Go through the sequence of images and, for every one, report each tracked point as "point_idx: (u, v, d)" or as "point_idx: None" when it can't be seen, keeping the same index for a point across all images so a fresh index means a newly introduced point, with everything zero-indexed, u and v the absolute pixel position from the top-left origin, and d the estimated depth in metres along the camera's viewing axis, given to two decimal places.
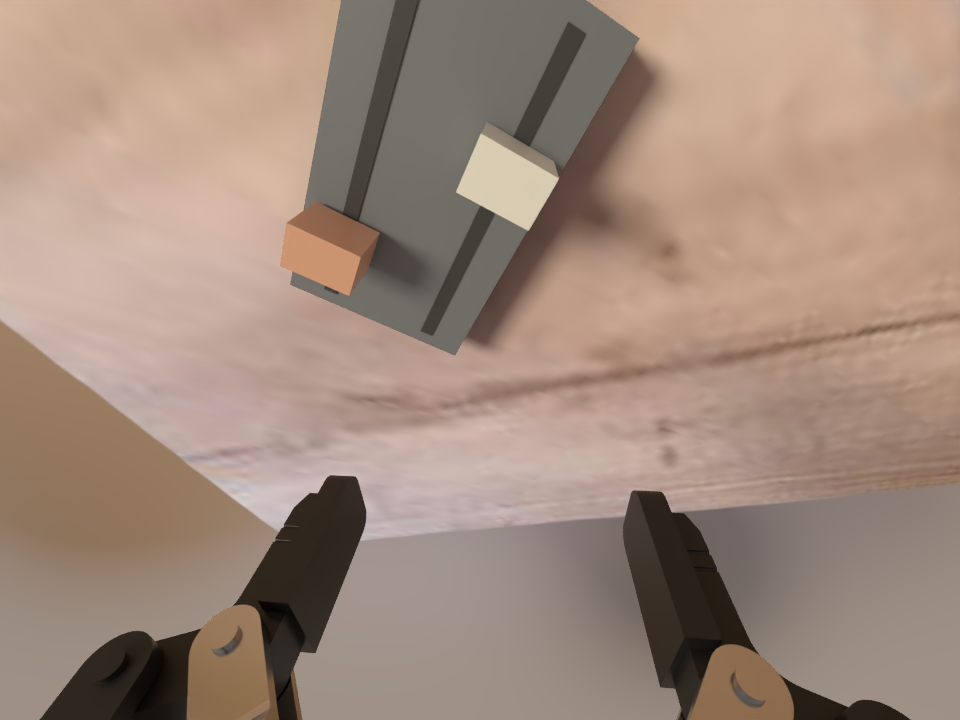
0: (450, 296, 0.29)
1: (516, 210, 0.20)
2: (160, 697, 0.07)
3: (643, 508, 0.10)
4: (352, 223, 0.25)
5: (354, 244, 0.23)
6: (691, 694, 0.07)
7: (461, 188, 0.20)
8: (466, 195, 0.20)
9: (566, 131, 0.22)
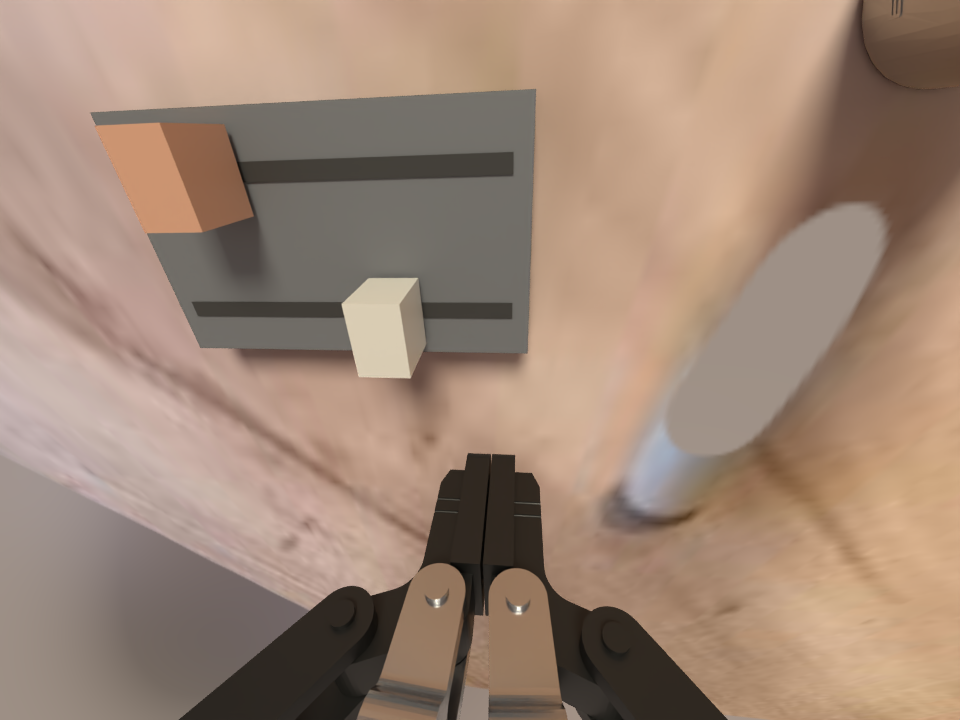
0: (255, 315, 0.25)
1: (366, 360, 0.21)
2: (387, 645, 0.07)
3: (492, 467, 0.11)
4: (236, 183, 0.20)
5: (211, 211, 0.18)
6: None
7: (348, 307, 0.19)
8: (345, 314, 0.19)
9: (450, 339, 0.25)
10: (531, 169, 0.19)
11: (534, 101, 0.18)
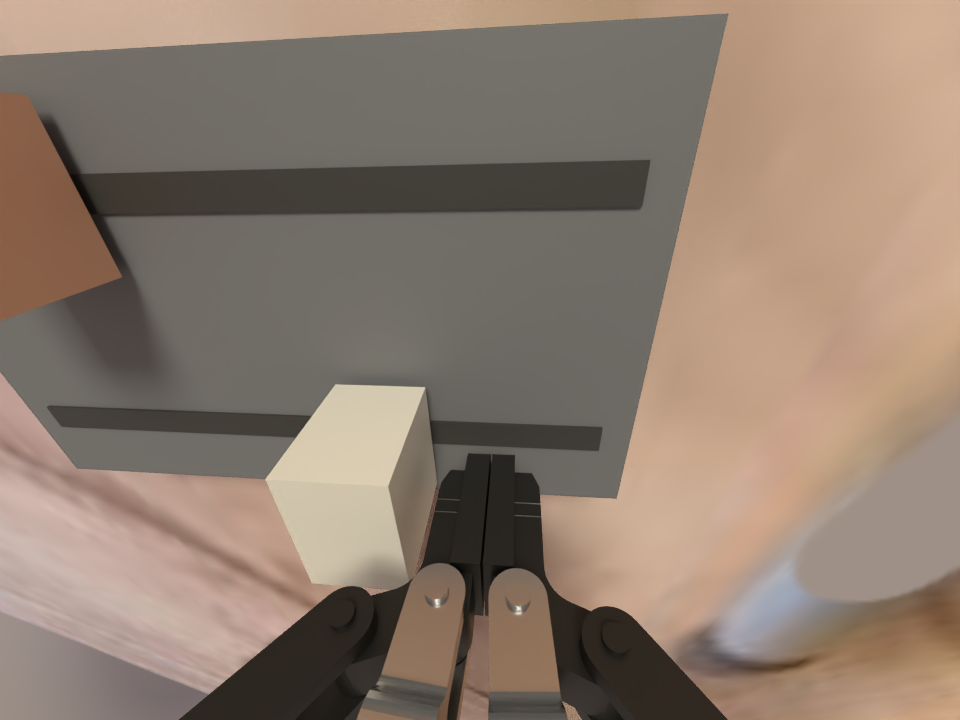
0: (155, 428, 0.15)
1: (324, 562, 0.11)
2: (387, 645, 0.07)
3: (492, 467, 0.11)
4: (69, 218, 0.10)
5: None
6: None
7: (279, 485, 0.09)
8: (276, 496, 0.09)
9: None
10: (681, 197, 0.09)
11: (718, 44, 0.08)
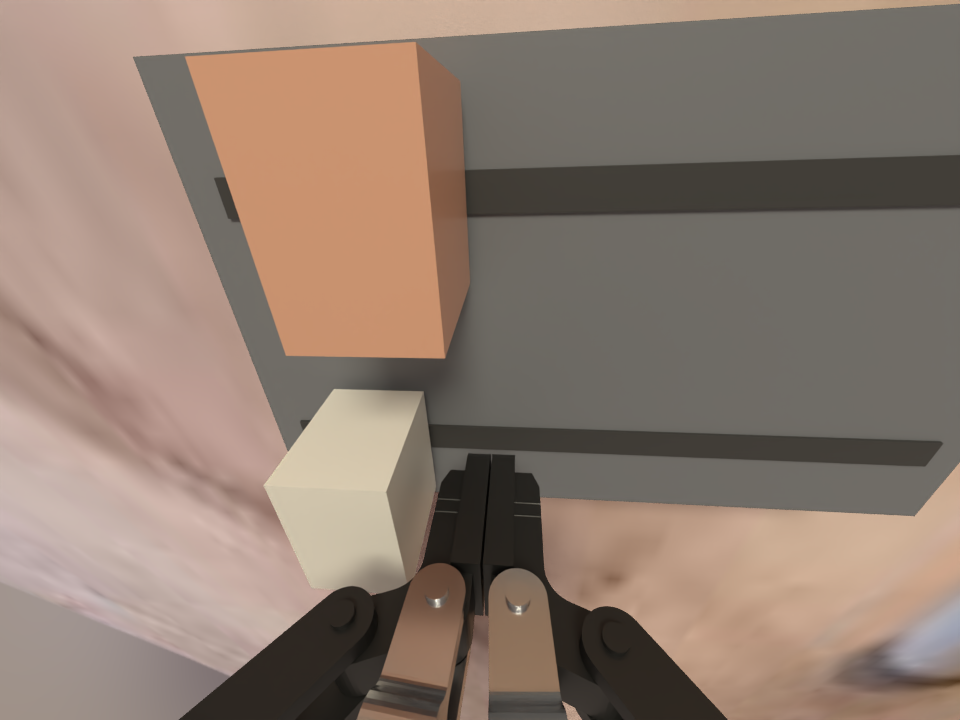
0: None
1: (323, 567, 0.11)
2: (387, 645, 0.07)
3: (492, 467, 0.11)
4: (463, 218, 0.09)
5: (451, 296, 0.07)
6: None
7: (278, 491, 0.09)
8: (275, 502, 0.09)
9: (775, 491, 0.14)
10: None
11: None
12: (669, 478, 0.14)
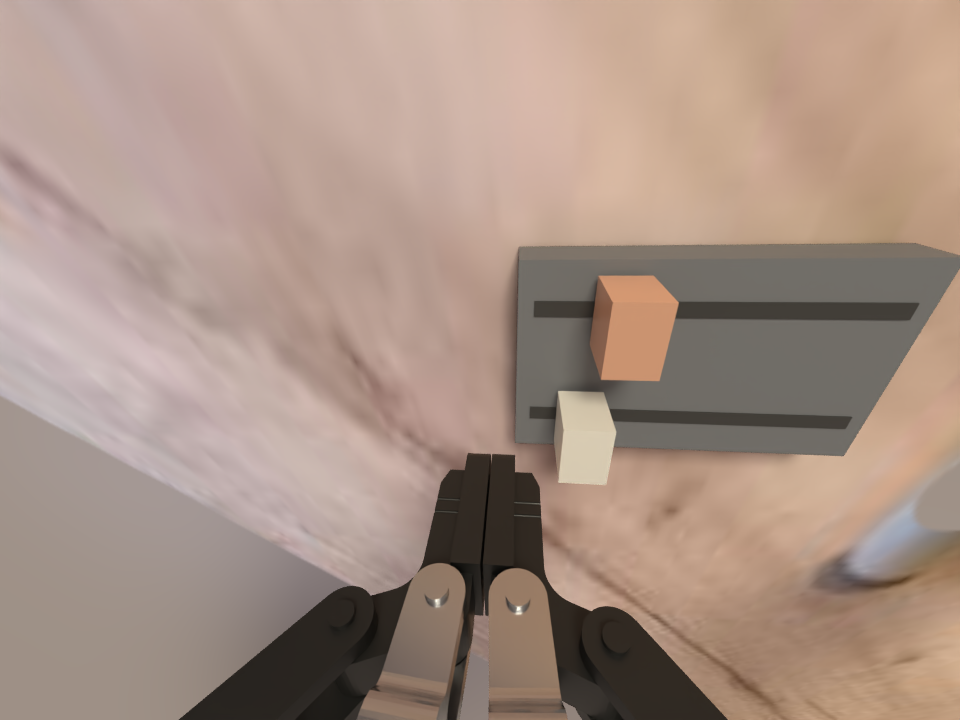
0: None
1: (570, 470, 0.24)
2: (387, 645, 0.07)
3: (492, 467, 0.11)
4: None
5: None
6: None
7: (568, 432, 0.22)
8: (564, 437, 0.23)
9: (772, 443, 0.27)
10: (928, 316, 0.21)
11: (959, 266, 0.20)
12: (718, 437, 0.27)
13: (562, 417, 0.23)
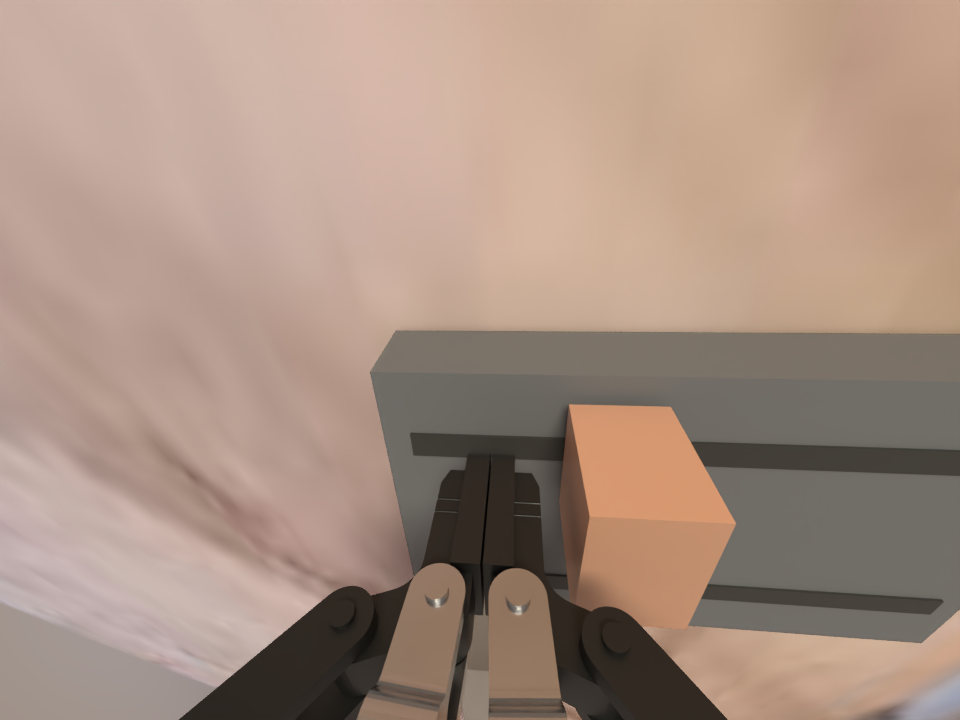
0: None
1: (479, 709, 0.14)
2: (387, 645, 0.07)
3: (492, 467, 0.11)
4: None
5: None
6: None
7: None
8: None
9: (811, 624, 0.17)
10: None
11: None
12: (726, 613, 0.17)
13: None
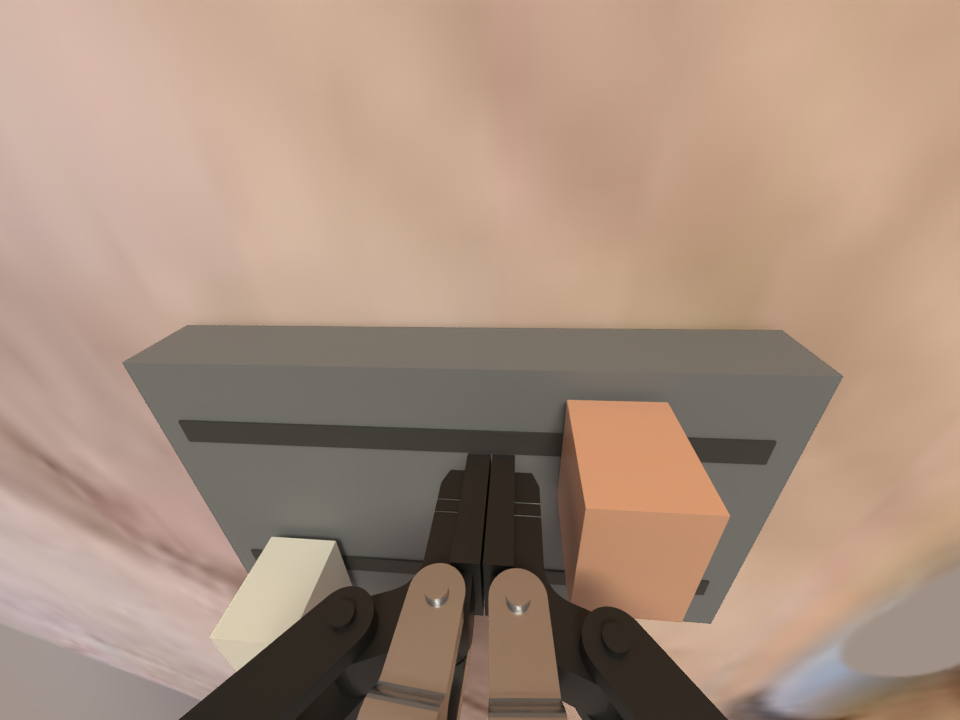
0: None
1: None
2: (387, 645, 0.07)
3: (492, 467, 0.11)
4: None
5: None
6: None
7: (219, 641, 0.14)
8: (217, 645, 0.14)
9: None
10: (795, 459, 0.13)
11: (834, 389, 0.11)
12: None
13: (232, 602, 0.15)
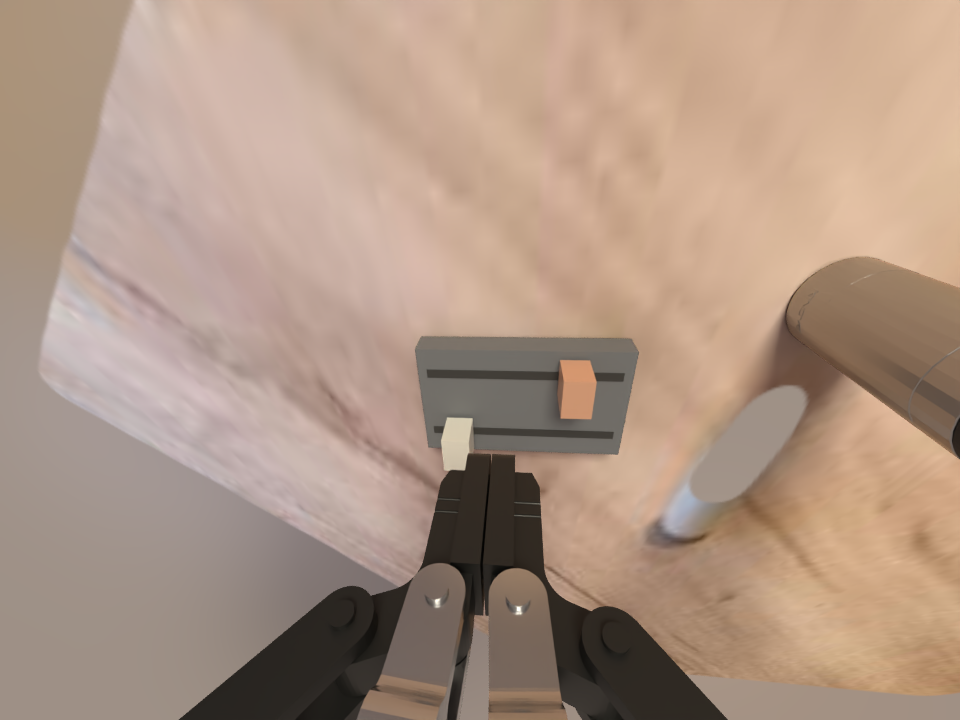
0: None
1: (449, 463, 0.42)
2: (387, 645, 0.07)
3: (492, 467, 0.11)
4: None
5: None
6: None
7: (443, 442, 0.41)
8: (442, 445, 0.41)
9: (576, 447, 0.45)
10: (632, 379, 0.40)
11: (637, 356, 0.39)
12: (545, 443, 0.46)
13: (443, 433, 0.42)
